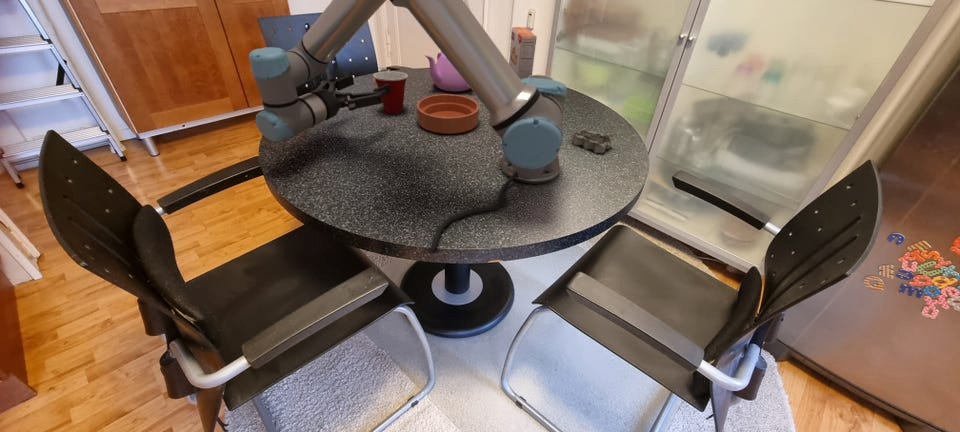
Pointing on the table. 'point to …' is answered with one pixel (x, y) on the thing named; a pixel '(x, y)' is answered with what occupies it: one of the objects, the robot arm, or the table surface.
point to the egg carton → (592, 140)
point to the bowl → (447, 113)
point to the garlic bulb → (375, 81)
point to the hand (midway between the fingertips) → (370, 83)
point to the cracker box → (522, 51)
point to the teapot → (446, 74)
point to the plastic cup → (392, 90)
